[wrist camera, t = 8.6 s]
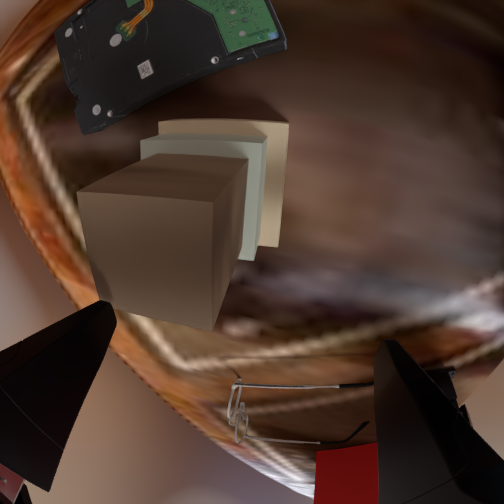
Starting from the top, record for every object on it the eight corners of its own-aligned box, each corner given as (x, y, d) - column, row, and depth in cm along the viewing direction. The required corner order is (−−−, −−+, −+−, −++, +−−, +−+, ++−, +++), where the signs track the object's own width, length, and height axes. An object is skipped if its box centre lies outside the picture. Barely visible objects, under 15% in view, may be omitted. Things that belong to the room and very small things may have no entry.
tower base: (280, 227, 20) (278, 247, 17) (180, 218, 21) (164, 235, 18) (289, 121, 16) (288, 123, 14) (177, 118, 17) (158, 121, 14)
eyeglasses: (225, 357, 28) (215, 396, 24) (400, 357, 25) (410, 395, 21) (241, 422, 36) (235, 451, 31) (366, 423, 33) (369, 451, 28)
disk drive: (105, 133, 18) (291, 50, 14) (83, 139, 16) (290, 40, 11) (73, 35, 14) (238, -56, 9) (51, 33, 11) (229, -74, 7)
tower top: (260, 235, 17) (253, 260, 15) (168, 225, 18) (148, 247, 15) (268, 137, 14) (262, 143, 12) (165, 133, 15) (140, 140, 12)
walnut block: (241, 247, 14) (212, 331, 9) (160, 235, 15) (101, 304, 10) (248, 158, 12) (213, 202, 7) (157, 153, 12) (76, 191, 7)
